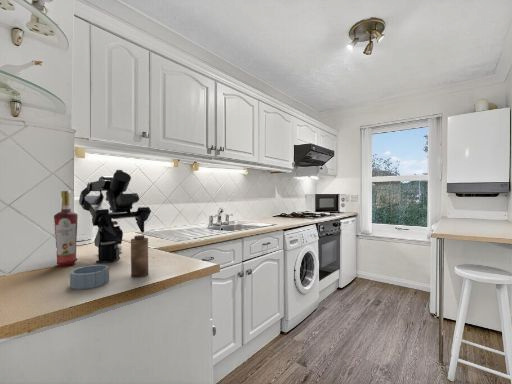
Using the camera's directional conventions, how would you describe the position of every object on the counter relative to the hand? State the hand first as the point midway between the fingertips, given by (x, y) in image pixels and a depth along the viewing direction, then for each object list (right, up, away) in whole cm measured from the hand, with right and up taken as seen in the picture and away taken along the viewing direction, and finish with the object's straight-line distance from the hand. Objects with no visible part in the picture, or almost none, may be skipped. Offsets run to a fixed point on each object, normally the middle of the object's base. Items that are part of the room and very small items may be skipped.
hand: (130, 233), depth 92 cm
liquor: (-28, -13, +9) cm, 32 cm away
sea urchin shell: (-21, -13, +26) cm, 36 cm away
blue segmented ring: (-6, -13, -12) cm, 19 cm away
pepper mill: (+5, -13, -5) cm, 15 cm away
